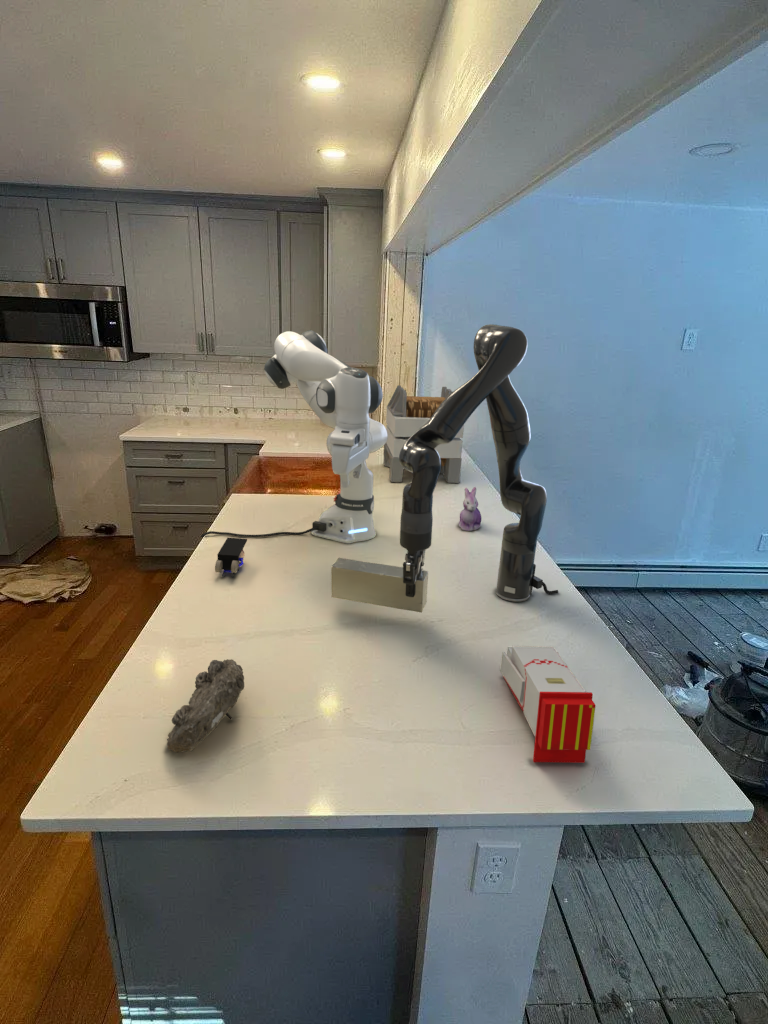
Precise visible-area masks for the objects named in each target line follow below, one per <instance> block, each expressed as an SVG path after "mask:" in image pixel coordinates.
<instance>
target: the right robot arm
mask: <svg viewBox="0 0 768 1024" xmlns="http://www.w3.org/2000/svg"><path fill="white" fill-rule="evenodd" d="M527 350H528V338H527V336H526V333H524V331H523V330H522V329H520V328H517V327H514V326H509V325H501V324H493V323H492V324H491V323H490V324H484V325H483V326H481V327H480V328H479V329H478V330H477V331H476V333H475V336H474V340H473V355H474V360H475V363H476V366H477V369H478V372H477V373H475V375H473V376H472V377H471V378H470V379H469V380H467V381H465V383H463V384H462V385H460V386H459V387H457V388H456V389H454V390H452V393H451V394H450V395H449V396H447V397H446V398H445V399H444V401H443V402H442V403H441V404H440V406H439V407H438V408H437V410H436V411H435V412H434V414H433V415H432V417H431V418H430V419H429V421H428V422H427V423H426V424H425V425H424V426H423V427H421V428H420V429H419V430H418V431H417V432H416V433H414V434H413V435H412V436H411V437H410V438H409V439H408V440H407V441H406V442H405V444H404V445H403V447H402V448H401V451H400V454H399V462H400V464H401V466H402V467H403V470H406V471H408V472H410V473H411V474H412V478H411V482H408V483H407V484H405V485H404V487H403V489H402V504H401V513H400V522H399V523H400V524H399V525H400V526H399V545H400V547H402V548H403V549H405V550H406V551H407V552H406V553H405V554H404V561H403V562H402V567H403V583H405V584H406V593H405V595H406V596H408V597H414V596H415V584H416V577H417V574H419V570H423V569H424V568H423V567H424V565H425V559H426V558H425V557H426V550H427V549H429V548H430V547H431V546H432V537H433V522H434V519H433V518H434V517H433V504H434V503H433V502H434V491H435V489H436V486H437V483H438V480H439V477H440V474H441V472H440V469H441V460H440V456H439V453H438V452H437V451H436V450H435V448H436V447H437V446H438V445H440V444H448V443H450V442H451V441H452V440H453V439H454V438H455V436H456V435H457V433H458V432H459V431H460V429H461V428H462V427H463V425H464V426H465V424H466V422H467V421H468V419H469V418H470V417H471V416H472V415H473V413H474V412H475V411H476V409H477V408H479V406H480V405H481V404H482V403H483V402H484V401H485V400H486V405H487V410H488V415H489V421H490V428H491V434H492V439H493V443H494V448H495V454H496V460H497V467H498V468H497V469H498V479H499V480H498V481H499V496H500V501H501V504H502V506H503V508H504V509H505V510H507V511H509V512H511V513H514V514H516V515H519V516H520V517H519V521H518V522H512V523H508V524H506V525H505V526H504V528H503V531H502V539H501V547H500V555H499V556H500V557H499V565H498V572H497V578H496V579H497V580H496V587H495V594H496V596H498V597H499V598H500V599H502V600H505V601H509V602H513V603H521V602H526V601H527V600H529V599H530V596H532V594H533V588H534V589H535V590H538V589H542V588H543V591H544V593H545V594H547V595H555V594H559V590H558V589H553V590H548V587H547V584H546V583H545V582H544V581H543V579H541V578H540V577H538V576H536V575H535V574H536V567H537V565H536V564H535V559H536V550H537V544H538V538H539V535H540V533H541V530H542V527H543V521H544V516H545V511H546V507H547V501H548V494H547V493H548V492H547V490H546V488H545V487H544V486H542V485H541V484H538V483H535V482H533V481H532V482H531V481H529V480H526V479H524V477H523V475H522V470H521V461H522V458H523V456H524V455H525V453H526V451H527V449H528V447H529V445H530V442H531V439H532V437H531V436H532V435H531V434H532V432H531V425H530V419H529V418H530V417H529V414H528V411H527V408H526V406H525V404H524V402H523V400H522V398H521V397H520V395H519V394H518V392H517V390H516V389H515V386H514V385H513V384H512V382H511V379H510V374H511V373H512V372H513V371H514V370H515V369H516V368H518V366H519V365H520V364H521V363H522V362H523V359H524V358H525V356H526V354H527ZM414 569H416V571H415V570H414ZM423 571H424V570H423ZM408 577H411V578H408Z"/></svg>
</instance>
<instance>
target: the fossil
mask: <svg viewBox="0 0 768 1024" xmlns="http://www.w3.org/2000/svg"><path fill="white" fill-rule="evenodd" d="M243 670H244V669H243V667H242V665H240V664H237V662H236V661H235V660H234V659H232V658H231V659H227V658H226V659H224V660H223V661H222V660H217V659H212V660H211V661H210V663H209V665H208V666H207V671H201V672H199V673H198V674H197V675H196V676H195V680H194V684H195V685H194V687H195V689H194V690H193V693H192V694H191V697H190V698H189V700H188V704H184V705H182V706H181V707H180V709H177V710H176V711H175V713H174V715H173V716H172V718H171V723H172V724H173V727H172V730H171V731H170V732H168V734H167V738H166V741H167V742H166V745H167V749H168V750H169V751H173V752H174V753H176V754H178V753H182V752H188V751H189V752H192V751H193V750H195V748H196V747H197V746H199V744H200V743H201V742H203V741H204V740H205V739H206V738H207V737H208V736H209V735H210V734H211V733H212V732H214V730H215V729H217V727H218V726H219V724H220V722H221V721H222V720H223V719H224V718H225V716H226V717H227V719H229V720H233V717H232V715H230V714H229V710H230V709H231V708H234V706H235V704H236V703H237V702H238V699H239V697H240V695H241V693H242V691H243V690H245V689H244V688H245V675H244V671H243Z"/></svg>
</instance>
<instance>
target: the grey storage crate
mask: <svg viewBox="0 0 768 1024" xmlns="http://www.w3.org/2000/svg"><path fill="white" fill-rule="evenodd" d="M452 392H453V390H452V389H451V388H447V386H442V387H441V392H440V393H441V394H440V396H415V395H414V396H413V395H412V396H411V395H407V394H408V393H407V390H406V389H404V388H403V387H402V385H399V384H398V385H397V386H396V388H395V390H394V392H393V394H392V395H391V398H390V400H389V402H388V404H387V405H386V413H385V414H386V415H385V423H386V426H385V428H386V430H387V441H386V443H385V445H384V446H383V466H384V467H388V468H389V475H388V476H389V477H388V478H389V480H390V482H391V483H402V482H403V475H404V468H403V467H402V466H401V464H400V462H399V454H400V451H401V448H402V447H403V445H404V444H405V442H406V441H407V440H408V439H409V438H410V437H411V436H412V435H413V434H414V433H416V432H417V431H418V430H419V429H420V428H421V427H423V426H424V425H425V424H426V423H427V422H428V421H429V419H430V418H431V417H432V415H433V414H434V412H435V411H436V410H437V408H438V407H439V406H440V404H441V403H442V402H443V401H444V399H445V398H446V397H447V396H449V395H450V394H451V393H452ZM464 429H465V424H464V425H463V427H462V428H461V429H460V431H459V432H458V433H457V435H456V436H455V438H454V439H453V440H452V441H451V442H450V443H448V444H440V445H438V446H437V447H436V448H435V450H436V451H437V452H438V453H439V456H440V460H441V469H440V474H441V475H443V478H444V479H445V481H446V482H447V483H449V484H455V483H456V484H459V483H461V472H462V461H463V460H462V453H463V442H464V441H463V440H462V439H463V438H464V431H465V430H464Z"/></svg>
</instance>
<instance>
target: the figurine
mask: <svg viewBox="0 0 768 1024" xmlns="http://www.w3.org/2000/svg"><path fill="white" fill-rule="evenodd" d="M476 494H477V487H476V486H474V487H473V488H472V489H471V491H470V490H469V488H467V487H464V499H463V501H462V506H463V509H462V510H461V511H460V513H459V521H458V527H459V528H460V529H461V530H463V531H469V532H472V531H476V530H478V529H479V528H481V523H482V514H481V512H480V510H479V508H478V507H479V501H478V498H477V497H476Z"/></svg>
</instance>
